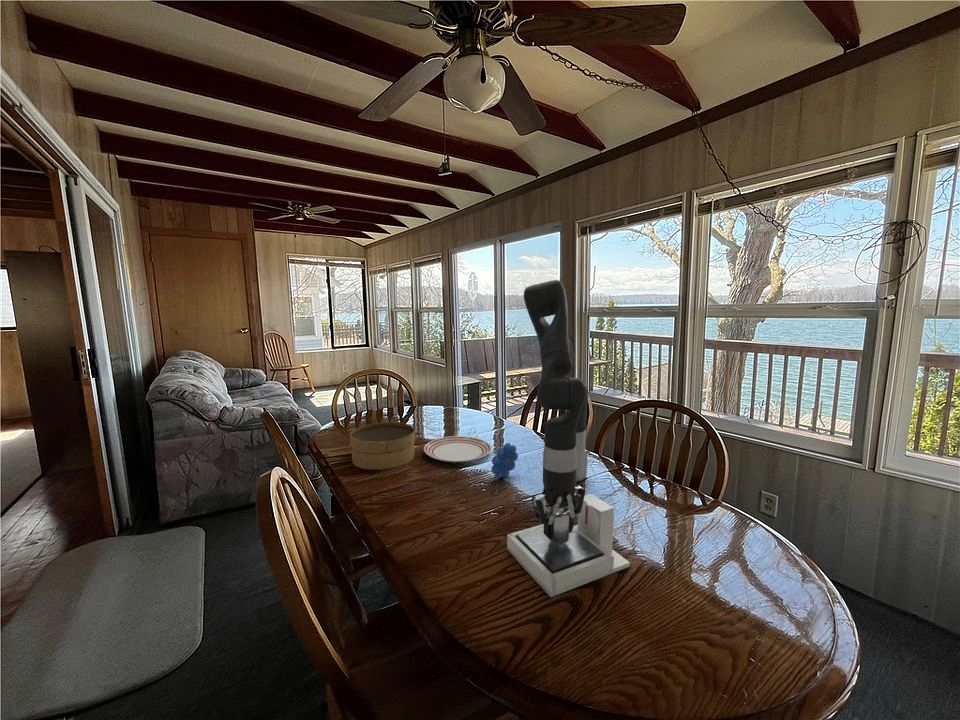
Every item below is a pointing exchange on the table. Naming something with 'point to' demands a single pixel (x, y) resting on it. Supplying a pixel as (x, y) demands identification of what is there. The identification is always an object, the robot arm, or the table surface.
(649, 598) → the table surface
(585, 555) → the scale pan
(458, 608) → the table surface
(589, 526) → the scale
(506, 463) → the grapes
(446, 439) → the dinner plate
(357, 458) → the steamer basket
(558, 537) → the cylinder
